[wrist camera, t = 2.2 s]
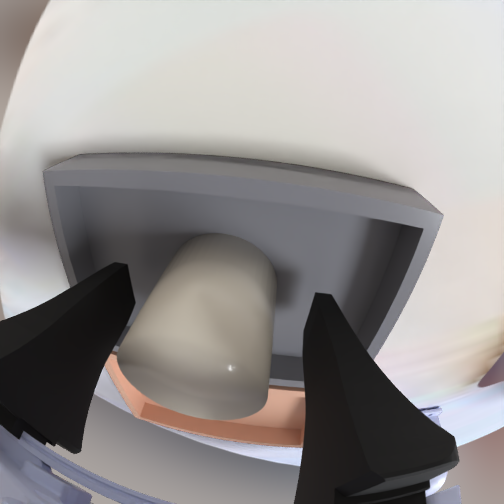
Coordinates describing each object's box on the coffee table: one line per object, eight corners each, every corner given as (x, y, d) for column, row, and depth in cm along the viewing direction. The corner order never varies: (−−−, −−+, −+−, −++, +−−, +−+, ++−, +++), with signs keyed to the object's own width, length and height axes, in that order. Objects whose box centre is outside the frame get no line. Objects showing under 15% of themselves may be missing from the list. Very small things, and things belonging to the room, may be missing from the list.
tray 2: (345, 357, 14) (350, 393, 12) (306, 422, 19) (305, 447, 17) (114, 319, 15) (96, 348, 13) (144, 394, 20) (135, 417, 18)
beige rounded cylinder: (285, 241, 10) (281, 355, 6) (269, 326, 12) (258, 427, 8) (167, 226, 10) (98, 317, 6) (175, 311, 12) (136, 401, 8)
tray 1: (414, 189, 9) (443, 215, 7) (347, 353, 14) (353, 389, 12) (80, 154, 10) (42, 171, 8) (112, 315, 15) (93, 344, 13)
